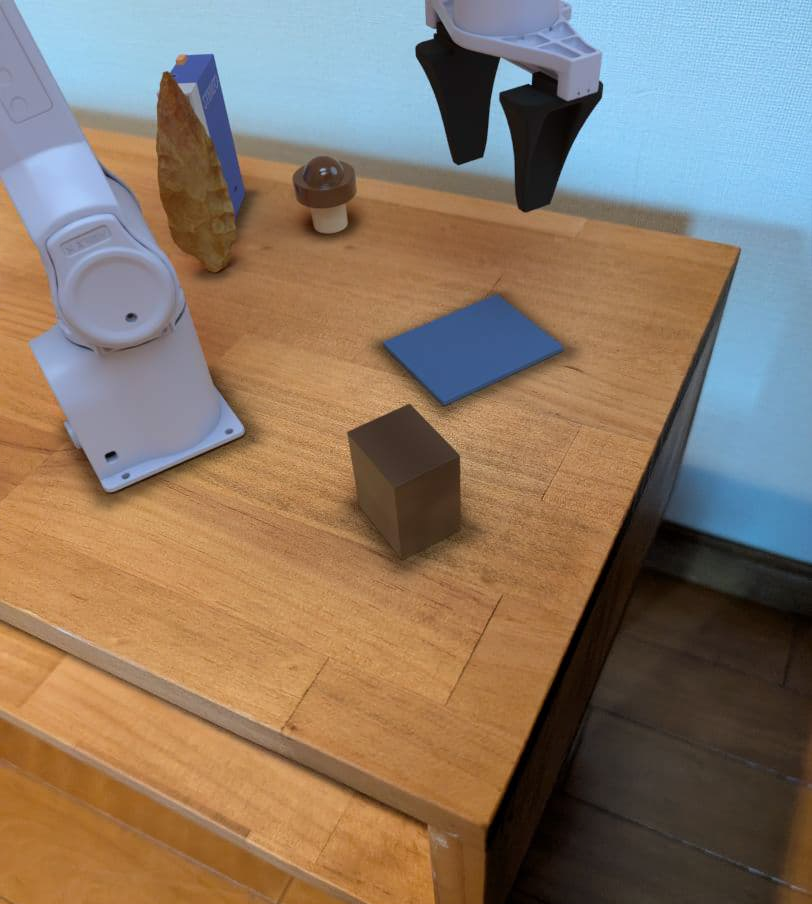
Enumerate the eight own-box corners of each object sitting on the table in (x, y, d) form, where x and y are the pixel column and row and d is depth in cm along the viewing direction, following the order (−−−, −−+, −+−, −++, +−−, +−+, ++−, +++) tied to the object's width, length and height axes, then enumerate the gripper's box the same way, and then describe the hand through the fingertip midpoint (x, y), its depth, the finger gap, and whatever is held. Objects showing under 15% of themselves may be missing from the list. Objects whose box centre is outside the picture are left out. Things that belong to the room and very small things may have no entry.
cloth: (443, 406, 51) (443, 401, 51) (383, 346, 56) (382, 341, 56) (563, 351, 54) (564, 346, 54) (496, 298, 59) (496, 293, 59)
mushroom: (318, 247, 65) (306, 178, 61) (290, 222, 68) (278, 155, 64) (371, 227, 67) (364, 159, 62) (342, 203, 70) (334, 136, 65)
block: (402, 560, 43) (394, 487, 39) (358, 506, 46) (346, 431, 42) (461, 529, 45) (460, 455, 40) (415, 478, 47) (409, 402, 43)
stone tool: (192, 287, 62) (129, 85, 51) (182, 274, 64) (118, 74, 52) (250, 266, 64) (201, 64, 52) (238, 253, 65) (189, 54, 54)
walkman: (216, 194, 72) (179, 50, 63) (246, 194, 72) (212, 48, 63) (196, 239, 67) (152, 90, 58) (227, 239, 67) (188, 88, 58)
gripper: (667, -69, 36) (622, 209, 47) (495, -120, 45) (489, 126, 55) (544, -38, 35) (525, 245, 45) (388, -97, 43) (403, 153, 53)
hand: (499, 182), depth 50 cm, fingers open, 7 cm apart
